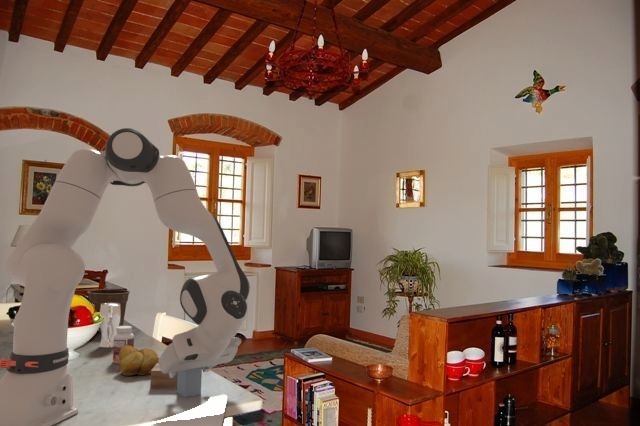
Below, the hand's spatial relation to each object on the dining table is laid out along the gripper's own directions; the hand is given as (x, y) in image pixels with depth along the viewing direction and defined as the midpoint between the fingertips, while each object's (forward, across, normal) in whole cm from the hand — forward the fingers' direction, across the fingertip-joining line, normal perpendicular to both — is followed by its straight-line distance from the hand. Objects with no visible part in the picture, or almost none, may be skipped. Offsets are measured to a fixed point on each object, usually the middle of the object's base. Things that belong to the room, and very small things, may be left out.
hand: (188, 372), depth 137 cm
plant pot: (+69, -12, -61) cm, 93 cm away
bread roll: (+22, +2, -14) cm, 26 cm away
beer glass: (+50, -3, -42) cm, 65 cm away
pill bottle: (+33, +1, -25) cm, 41 cm away
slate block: (+3, 0, +4) cm, 5 cm away
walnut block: (+11, +1, -3) cm, 12 cm away
